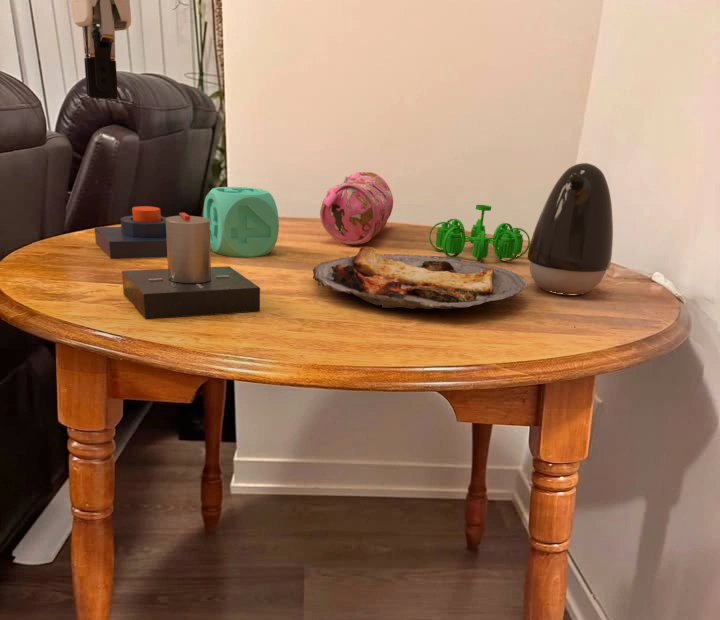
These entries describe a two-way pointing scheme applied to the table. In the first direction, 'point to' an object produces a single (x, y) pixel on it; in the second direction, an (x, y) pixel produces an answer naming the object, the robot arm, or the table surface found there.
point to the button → (146, 214)
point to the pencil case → (357, 208)
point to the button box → (133, 239)
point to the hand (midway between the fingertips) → (102, 97)
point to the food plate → (418, 280)
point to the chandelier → (479, 238)
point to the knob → (188, 248)
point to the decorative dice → (241, 221)
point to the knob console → (190, 293)
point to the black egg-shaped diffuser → (573, 233)
